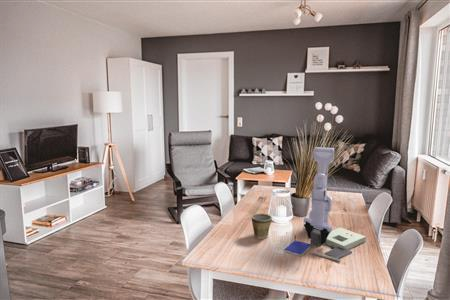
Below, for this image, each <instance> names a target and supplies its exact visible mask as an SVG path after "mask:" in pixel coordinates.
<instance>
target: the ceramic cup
mask: <svg viewBox="0 0 450 300" xmlns="http://www.w3.org/2000/svg"><path fill="white" fill-rule="evenodd" d="M272 219H273V218H272V216H271V215H269V214H266V213H255V214H253V215H251V224H252V228H253V236H254V238H257V239H258V238H259V240H264V238H265V239H267V238H268V235H269V230H270V226H271V224H272Z"/></svg>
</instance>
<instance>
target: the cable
mask: <svg viewBox="0 0 450 300" xmlns="http://www.w3.org/2000/svg"><path fill="white" fill-rule="evenodd" d="M311 253H312V254H313V255H316V256H319V257H322V258H325V259H329V260H333V261H334V262H336V263H341V258H340V259H337V258H333V257H330V256H327V255H325V254H323V253H319V252H317V251H312V252H311Z"/></svg>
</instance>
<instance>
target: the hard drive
mask: <svg viewBox="0 0 450 300" xmlns="http://www.w3.org/2000/svg"><path fill="white" fill-rule="evenodd" d="M311 247H312V244H310V243H308V242H304V241H301V240H297V239H295V240H293V241H292V242H291V243H290V244H289V245H287V246H286V247H285V248H284V249H283V252H285V253H289V254H291V255H296V256H298V257H302V256H303V255H304V254H305V253H306V252H307V251H308V250H309V249H310V248H311Z"/></svg>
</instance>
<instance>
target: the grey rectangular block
mask: <svg viewBox="0 0 450 300" xmlns="http://www.w3.org/2000/svg"><path fill="white" fill-rule="evenodd" d="M309 244H311V246H314V247H318V248H319V247H321V246H322V244H321V233H320V230H318V229H313V231H312V232H311V237H310V243H309Z"/></svg>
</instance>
